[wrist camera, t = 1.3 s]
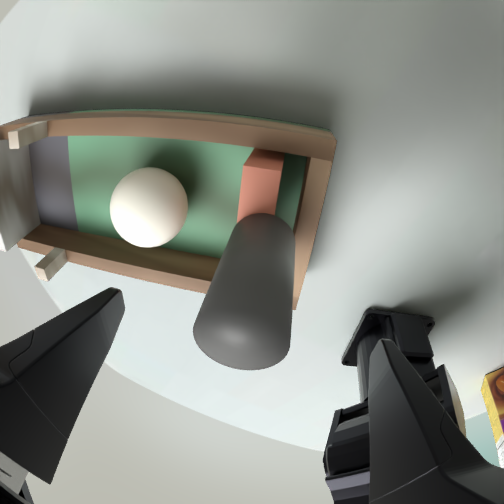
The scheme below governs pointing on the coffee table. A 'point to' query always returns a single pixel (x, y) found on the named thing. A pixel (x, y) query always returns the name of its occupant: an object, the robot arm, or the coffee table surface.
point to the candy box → (495, 407)
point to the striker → (252, 277)
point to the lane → (157, 156)
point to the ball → (148, 207)
